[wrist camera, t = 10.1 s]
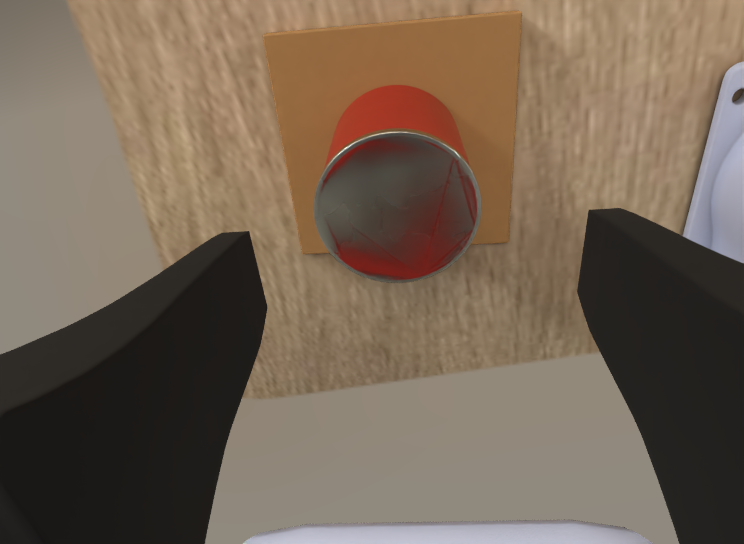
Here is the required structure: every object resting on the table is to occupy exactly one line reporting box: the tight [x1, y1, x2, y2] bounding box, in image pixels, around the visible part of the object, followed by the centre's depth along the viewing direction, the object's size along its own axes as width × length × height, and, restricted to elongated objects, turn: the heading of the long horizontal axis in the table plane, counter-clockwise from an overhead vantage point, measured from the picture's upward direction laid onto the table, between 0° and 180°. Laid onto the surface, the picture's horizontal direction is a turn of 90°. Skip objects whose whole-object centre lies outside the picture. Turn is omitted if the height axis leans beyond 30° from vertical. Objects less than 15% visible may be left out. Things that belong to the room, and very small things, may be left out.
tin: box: [313, 85, 482, 283], centre depth 16 cm, size 4×4×5 cm
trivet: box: [263, 11, 522, 254], centre depth 19 cm, size 8×8×1 cm
